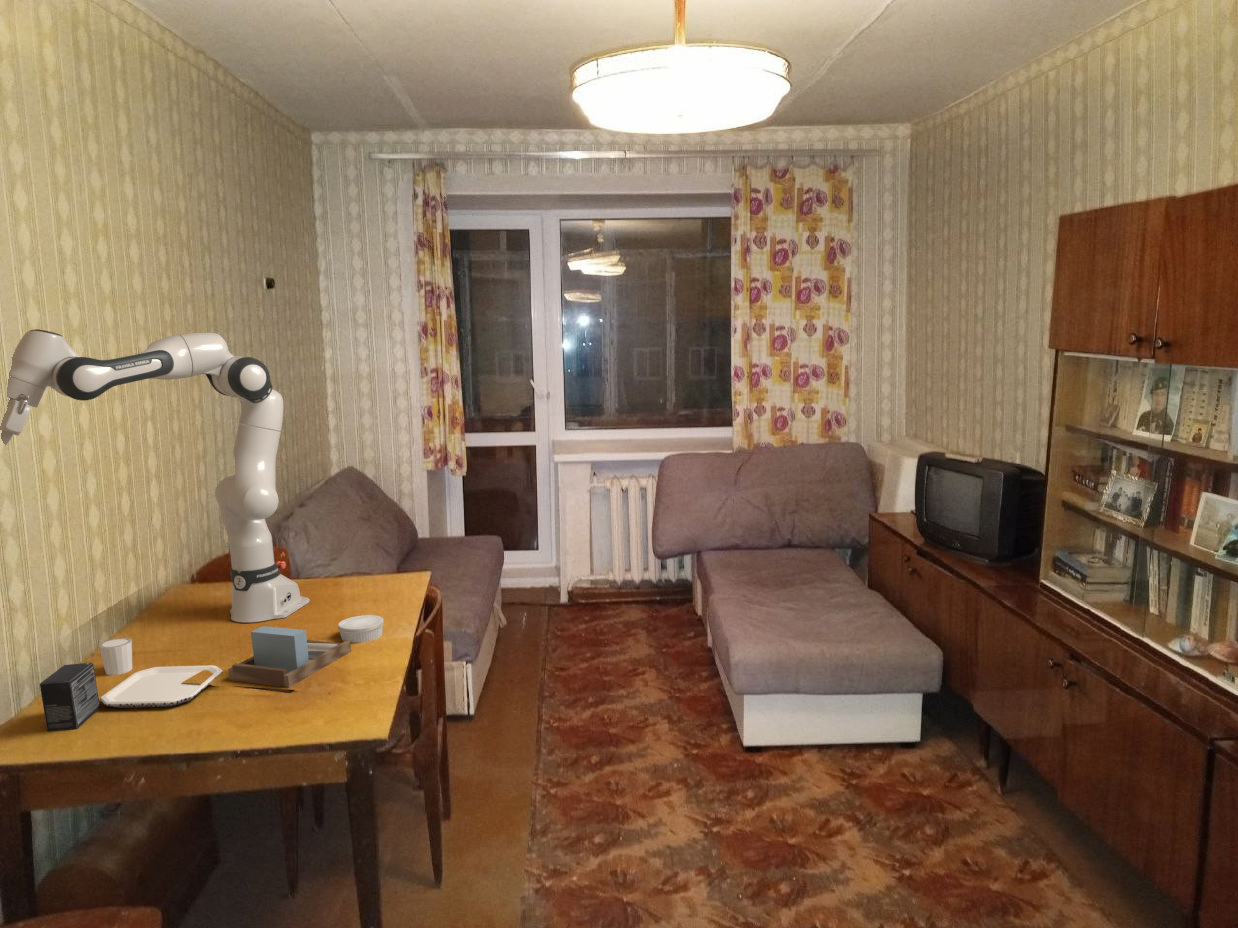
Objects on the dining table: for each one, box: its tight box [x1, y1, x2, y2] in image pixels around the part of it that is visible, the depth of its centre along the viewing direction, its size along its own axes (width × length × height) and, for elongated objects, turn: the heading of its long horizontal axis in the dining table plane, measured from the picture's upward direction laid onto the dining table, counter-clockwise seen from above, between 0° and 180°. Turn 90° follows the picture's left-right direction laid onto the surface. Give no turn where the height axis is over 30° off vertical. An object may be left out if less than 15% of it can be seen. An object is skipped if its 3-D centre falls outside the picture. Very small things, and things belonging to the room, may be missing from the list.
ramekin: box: [337, 614, 385, 644], centre depth 237 cm, size 11×11×5 cm
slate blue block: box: [250, 625, 310, 673], centre depth 214 cm, size 4×12×11 cm, turn 70°
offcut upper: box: [307, 643, 338, 660], centre depth 225 cm, size 5×11×2 cm, turn 78°
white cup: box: [98, 637, 133, 676], centre depth 223 cm, size 7×7×7 cm
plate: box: [99, 664, 224, 709], centre depth 209 cm, size 21×21×2 cm
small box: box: [39, 662, 101, 732], centre depth 195 cm, size 11×6×10 cm, turn 5°
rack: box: [227, 639, 352, 694], centre depth 218 cm, size 23×16×5 cm
